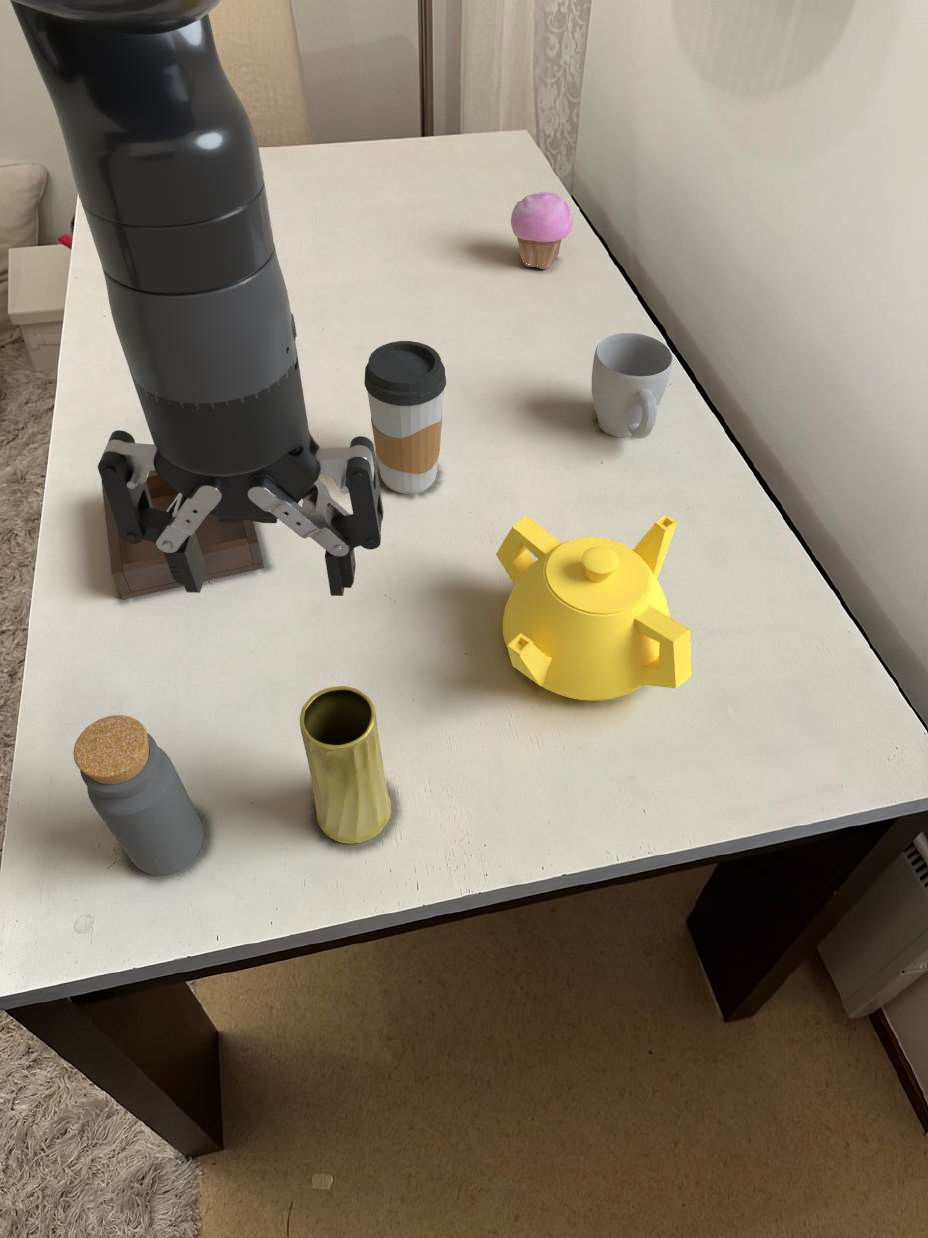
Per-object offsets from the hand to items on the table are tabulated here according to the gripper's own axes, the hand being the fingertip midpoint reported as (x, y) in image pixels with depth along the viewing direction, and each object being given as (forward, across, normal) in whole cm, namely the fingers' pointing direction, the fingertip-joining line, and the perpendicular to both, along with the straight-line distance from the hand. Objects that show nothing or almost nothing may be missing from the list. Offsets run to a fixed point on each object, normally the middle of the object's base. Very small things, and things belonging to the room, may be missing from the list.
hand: (268, 583), depth 51 cm
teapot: (+26, +24, +16) cm, 38 cm away
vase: (+26, +3, -2) cm, 26 cm away
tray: (+26, -17, +29) cm, 42 cm away
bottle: (+26, -11, -5) cm, 28 cm away
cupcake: (+26, +23, +87) cm, 94 cm away
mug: (+26, +31, +48) cm, 63 cm away
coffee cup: (+26, +6, +39) cm, 47 cm away
